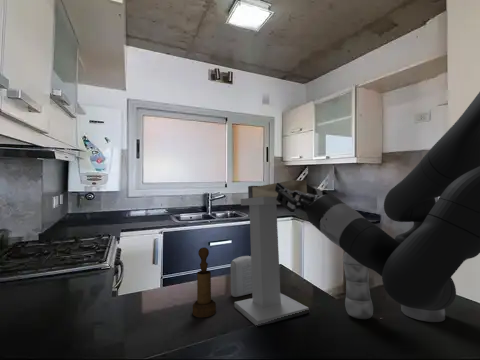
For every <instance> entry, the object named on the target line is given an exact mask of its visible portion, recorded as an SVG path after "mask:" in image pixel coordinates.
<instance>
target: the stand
mask: <svg viewBox="0 0 480 360" xmlns="http://www.w3.org/2000/svg"><path fill="white" fill-rule="evenodd" d="M291 197H292V196H291ZM276 199H277V197H256V198H248V197H247V198H240V206H249V207H248V208H249V227H250V229H249V230H250V231H249V234H250V235H249V236H250V256H251V269H252V293H251V295H252V298H247V299H243V300H237V301H234V309H236V310H237V311H238V312H239V313H241V314H242V315H243V316H244V317H245V318H246V319H248V320H249V321H250V322H251V323H252V324H253V325H255V326H256V325H258V324H261V323H265V322H268V321H271V320H274V319H277V318H281V317H284V316H288V315H292V314H295V313H299V312H302V311H305V310H309V311H310V309H309V307H308V306H306V305H304V304H302V303H300V302H299V301H297V300H295V299H293V298H291V297H289V296H287V295H286V294H283V293H281V276H280V275H281V274H280V258H279V257H280V255H279V236H278V235H279V234H278V233H279V231H278V213H277V211H278V209H277V208H278V207H277V205H281V204H280V203H279V202H278V201H277V200H276Z"/></svg>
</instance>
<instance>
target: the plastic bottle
mask: <svg viewBox="0 0 480 360" xmlns="http://www.w3.org/2000/svg"><path fill="white" fill-rule="evenodd" d="M341 260H342V264H343V268H344V269H343V270H344V274H345V282H346V285H345V289H346V290H345V293H346V295H345V300H344V306H345V310H346V312H347V314H348V315H349V316H351V317H352V318H355V319H359V320H367V319H368V320H370V318H371V317H372V316H373V315H374V314H373V313H374V305H373V302H372V299H371V292H370V285H369V284H370V283H369V276H370V275H369V270H370V268H367V267H365V266H363V265H361V264H360V263H358V262H357V261H356V260H355V259H353V258H352V257H351V256H350V255H349V254H348V253H346V252H345V251H344V253H343V255H342V259H341Z"/></svg>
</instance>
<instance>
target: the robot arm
mask: <svg viewBox="0 0 480 360" xmlns="http://www.w3.org/2000/svg"><path fill="white" fill-rule="evenodd" d="M276 183H277V184H276V187H275V191H276V192H277V193H278V196H277V199H276V200H277V201H278V202H279V203H280V204H279V205H282V207H284V208H285V209H286V210H288V211H289V212H290V213H295V211H296V209H299V210H300V211H303V212H304V213H306V216H307V219H308V221H309V223H310V224H311V225H312V226H313V227H314V228H315V229H317V230H318V231H319V232H320V233H321V234H323V235H324V236H325V237H326V238H327V239H328V240H330V242H332V243H333V244H335V245H337V246H338V247H339V248H340V249H341V250H343V251H344V253H345V252H346V253H348V254H349V255H350V256H351V257H352V258H353V259H355V260H356V261H357V262H358V263H360V264H361V265H363V266H365V267H367V268H369V270H372V271H374V272H375V273H377V274H378V275H380V277H381V281H382V284H383V287H384V290H385V292H386V294H388V296H389V297H390V298H391V299H392V300H393V301H395V302H396V303H398V304H400V307H401V309H400V310H401V313H402V314H404V315H405V316H407V317H409V318H411V319H415V320H417V321H422V322H427V323H428V322H429V323H440V322H443V321H445V319H446V309H447V308H448V307H450V306H451V305H452V304H453V303H454V301H455V300H456V296H457V290H456V289H457V288H456V283H455V282H454V280H453V277H452V276H453V275H454V274H455V273H456V272H457V271H458V269H459V268H460V267H461V266H462V264H464V262H465V261H467V260H469V259H473V258H475V257H477V256H478V255H480V91H479V92H478V94H477V95H476V96H475V97H474V99H473V100H472V101H471V102H470V104H469V105H468V106H467V108H465V110H464V112H463V113H462V114H461V115H460V117H459V118H458V119H457V120H456V121H455V122H454V123H453V125H452V126H451V127H450V128H449V129H448V130H447V131H446V132H445V133H444V134H443V135H442V136H441V137H440V138H439V140H437V142H435V144H434V145H433V146H432V147H431V148H430V149H429V150H428V151H427V152H426V154H424V156H423V157H422V158H421V160H420V161H419V162H418V163H417V165H416V166H415V167H414V168H413V169H412V170H411V171H410V172H409V173H408V174H407V175H406V176H405V177H404V178H402V180H401V181H400V182H398V183H397V184H396V185H394V186H393V187H392V188H391V189H389V191H388V193H387V194H386V196H385V198H384V202H383V210H384V213H385V215H386V216H387V217H388V218H389V219H390V220H391V221H394V222H398V223H413V225H412V227H411V228H409V230H407V231H405V232H403V233H400V234H398V235H395V237H392V235H390V234H388V233H387V232H386V231H384V230H383V229H382V228H380V227H379V226H377V225H376V224H374V223H373V222H371V221H370V220H368V219H367V218H366V217H364V216H363V214H361V213H360V212H359V211H357V210H355V208H352V207H351V206H349V205H348V204H346V203H345V202H343V201H342V200H341V199H340V198H338V197H337V196H335V195H334V194H332V193H331V192H330V191H328V190H326V189H322V190H321V189H320V188H316V187H314V186H312V185H311V184H309V183H307V182H306V185H307V194H306V193H303V192H300V191H298V190H295V191H292V190H289V189H288V188H286V187H285V186H284V185H282V184H281V183H280V182H276ZM288 193H289V194H292V197H291V196H290V195H289V194H288ZM297 195H298V196H299V197H298V196H297ZM297 197H298V200H296V199H297ZM435 198H438V199H437V200H436V199H435Z"/></svg>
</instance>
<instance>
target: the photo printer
mask: <svg viewBox="0 0 480 360" xmlns="http://www.w3.org/2000/svg"><path fill="white" fill-rule="evenodd" d="M230 293H231V297H234V298H238V297H242V296H245V295H249V294H251V295H252V269H251V255H250V256H249V255H242V256H239V257H236V258H234V259H233V260H232V261H231V262H230Z"/></svg>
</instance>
